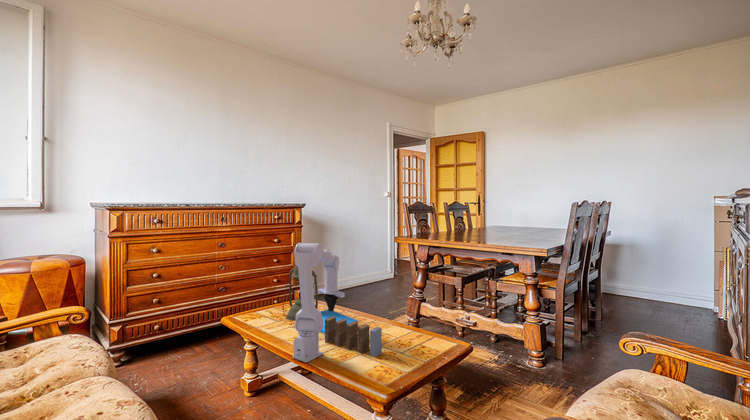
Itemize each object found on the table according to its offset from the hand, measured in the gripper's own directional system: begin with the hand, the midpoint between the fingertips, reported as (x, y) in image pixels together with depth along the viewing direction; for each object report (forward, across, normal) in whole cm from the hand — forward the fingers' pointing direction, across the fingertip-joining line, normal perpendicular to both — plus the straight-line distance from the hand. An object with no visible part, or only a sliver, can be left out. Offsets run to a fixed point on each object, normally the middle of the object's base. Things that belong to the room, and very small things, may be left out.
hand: (331, 310), depth 162 cm
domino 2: (+10, -12, +7) cm, 17 cm away
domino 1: (+10, -6, +7) cm, 14 cm away
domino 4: (+10, -24, +7) cm, 27 cm away
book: (+11, +8, -7) cm, 16 cm away
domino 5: (+10, -30, +7) cm, 33 cm away
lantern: (+11, +30, -10) cm, 34 cm away
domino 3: (+10, -18, +7) cm, 22 cm away
